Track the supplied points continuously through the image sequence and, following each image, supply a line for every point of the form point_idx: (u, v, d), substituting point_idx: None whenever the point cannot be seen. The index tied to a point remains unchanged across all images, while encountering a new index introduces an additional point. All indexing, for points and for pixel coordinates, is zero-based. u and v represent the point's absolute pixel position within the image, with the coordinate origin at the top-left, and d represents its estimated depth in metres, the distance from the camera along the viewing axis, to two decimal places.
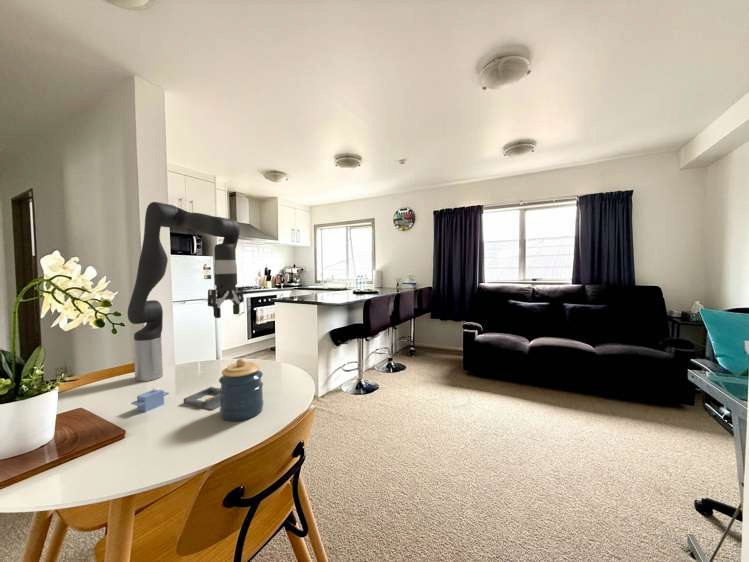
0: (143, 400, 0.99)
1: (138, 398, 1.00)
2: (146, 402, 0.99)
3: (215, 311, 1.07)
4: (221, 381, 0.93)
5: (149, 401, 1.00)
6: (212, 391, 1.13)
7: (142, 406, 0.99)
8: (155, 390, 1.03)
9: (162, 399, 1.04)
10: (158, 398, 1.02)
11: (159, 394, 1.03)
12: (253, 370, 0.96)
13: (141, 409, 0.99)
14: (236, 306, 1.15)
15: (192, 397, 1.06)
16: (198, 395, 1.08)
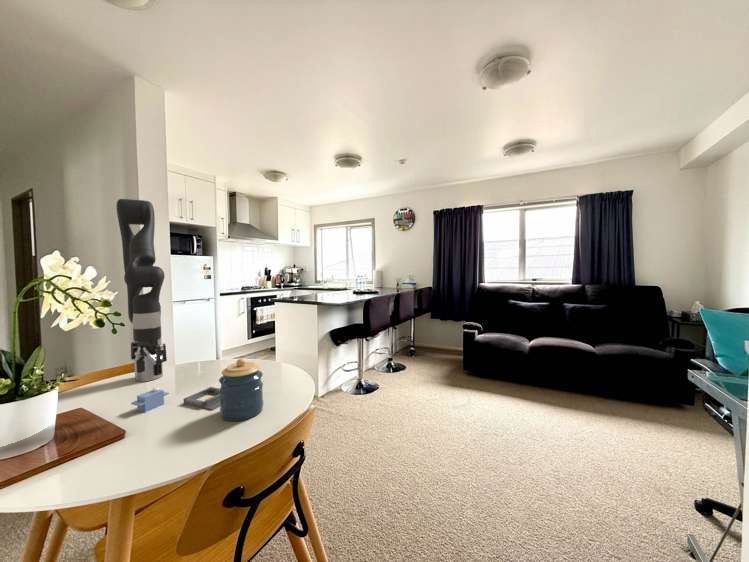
0: (143, 400, 0.99)
1: (138, 398, 1.00)
2: (146, 402, 0.99)
3: (160, 367, 1.00)
4: (221, 381, 0.93)
5: (149, 401, 1.00)
6: (212, 391, 1.13)
7: (142, 406, 0.99)
8: (155, 390, 1.03)
9: (162, 399, 1.04)
10: (158, 398, 1.02)
11: (159, 394, 1.03)
12: (253, 370, 0.96)
13: (141, 409, 0.99)
14: (143, 362, 1.03)
15: (192, 397, 1.06)
16: (198, 395, 1.08)
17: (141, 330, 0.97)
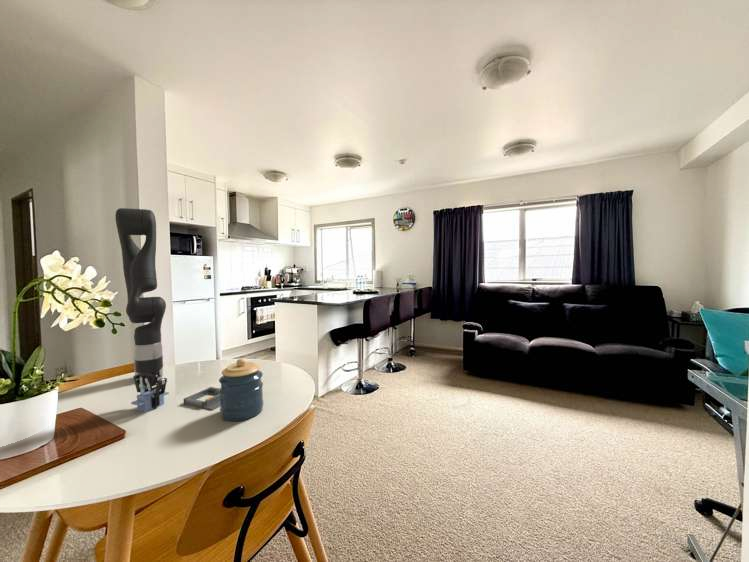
0: (143, 400, 0.99)
1: (138, 398, 1.00)
2: (146, 402, 0.99)
3: (158, 399, 1.01)
4: (221, 381, 0.93)
5: (149, 401, 1.00)
6: (212, 391, 1.13)
7: (142, 406, 0.99)
8: None
9: (162, 398, 1.04)
10: None
11: None
12: (253, 370, 0.96)
13: (141, 409, 0.99)
14: None
15: (192, 397, 1.06)
16: (198, 395, 1.08)
17: (143, 362, 0.98)
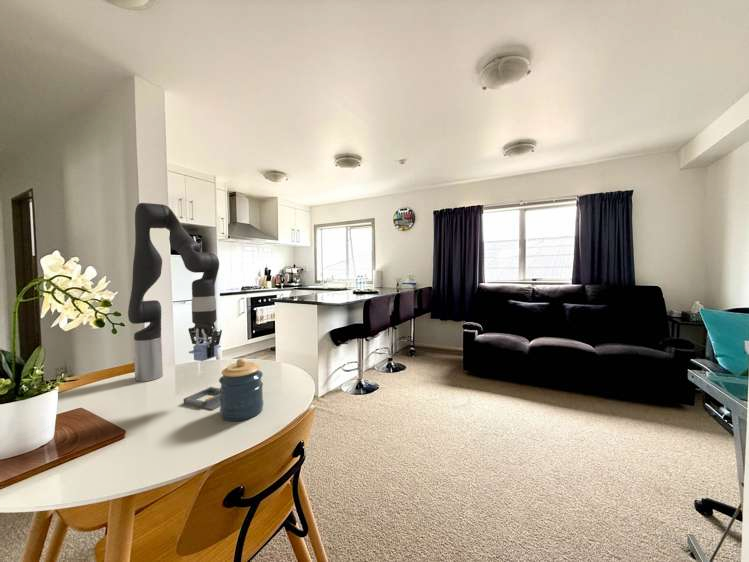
0: (199, 350, 1.04)
1: (194, 348, 1.04)
2: (202, 351, 1.04)
3: (213, 350, 1.06)
4: (221, 381, 0.93)
5: (205, 351, 1.05)
6: (212, 391, 1.13)
7: (199, 355, 1.04)
8: None
9: (215, 350, 1.09)
10: None
11: None
12: (253, 370, 0.96)
13: (197, 358, 1.04)
14: None
15: (192, 397, 1.06)
16: (198, 395, 1.08)
17: (200, 312, 1.03)
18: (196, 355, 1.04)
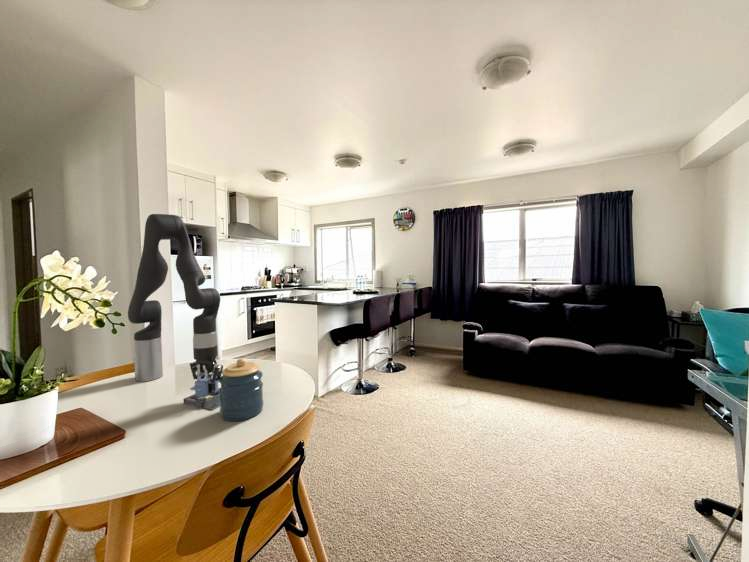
0: (201, 386, 1.04)
1: (196, 384, 1.05)
2: (204, 388, 1.04)
3: (214, 386, 1.06)
4: (221, 381, 0.93)
5: (206, 387, 1.05)
6: None
7: (200, 391, 1.04)
8: None
9: (217, 385, 1.09)
10: None
11: None
12: (253, 370, 0.96)
13: (199, 394, 1.05)
14: None
15: (192, 397, 1.06)
16: None
17: (202, 349, 1.03)
18: (197, 391, 1.05)
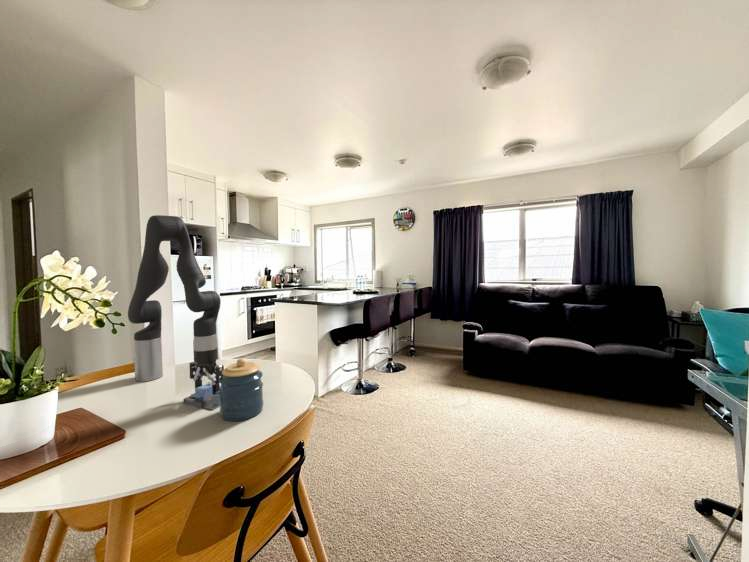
0: (201, 393, 1.04)
1: (196, 390, 1.05)
2: (204, 394, 1.04)
3: (218, 387, 1.06)
4: (221, 381, 0.93)
5: (207, 394, 1.05)
6: None
7: (200, 398, 1.05)
8: (211, 383, 1.08)
9: None
10: None
11: None
12: (253, 370, 0.96)
13: None
14: (200, 381, 1.09)
15: (192, 397, 1.06)
16: None
17: (202, 352, 1.03)
18: (198, 398, 1.05)
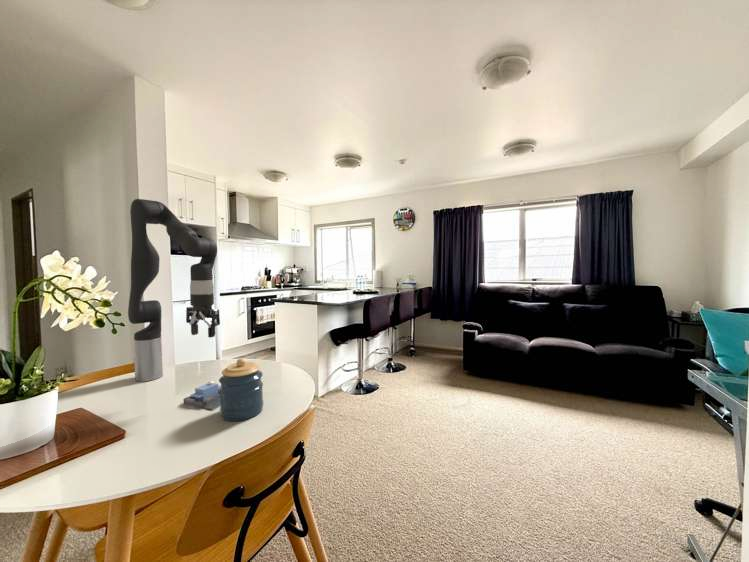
0: (201, 393, 1.04)
1: (196, 390, 1.05)
2: (204, 394, 1.04)
3: (214, 330, 1.10)
4: (221, 381, 0.93)
5: (207, 394, 1.05)
6: None
7: (200, 398, 1.05)
8: (211, 383, 1.08)
9: (217, 392, 1.09)
10: (214, 391, 1.08)
11: (214, 387, 1.08)
12: (253, 370, 0.96)
13: None
14: (196, 326, 1.13)
15: (192, 397, 1.06)
16: None
17: (198, 295, 1.07)
18: (198, 398, 1.05)
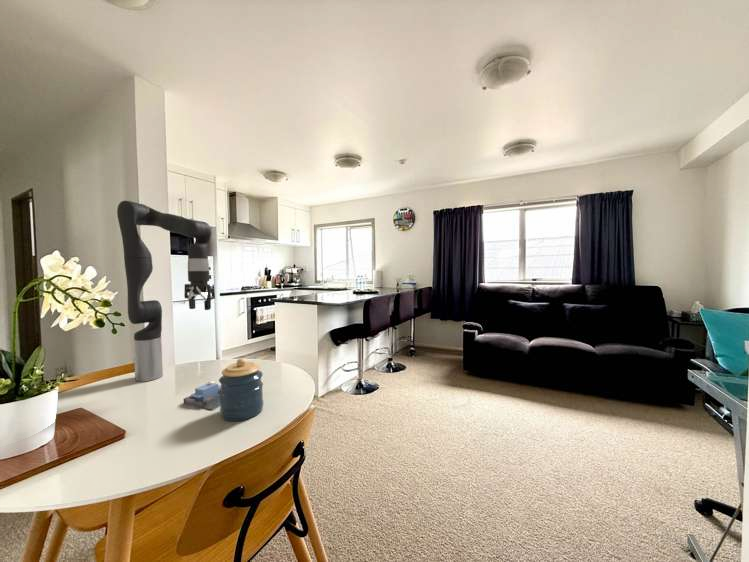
0: (201, 393, 1.04)
1: (196, 390, 1.05)
2: (204, 394, 1.04)
3: (209, 303, 1.22)
4: (221, 381, 0.93)
5: (207, 394, 1.05)
6: None
7: (200, 398, 1.05)
8: (211, 383, 1.08)
9: (217, 392, 1.09)
10: (214, 391, 1.08)
11: (214, 387, 1.08)
12: (253, 370, 0.96)
13: None
14: (194, 301, 1.25)
15: (192, 397, 1.06)
16: None
17: (195, 272, 1.19)
18: (198, 398, 1.05)
